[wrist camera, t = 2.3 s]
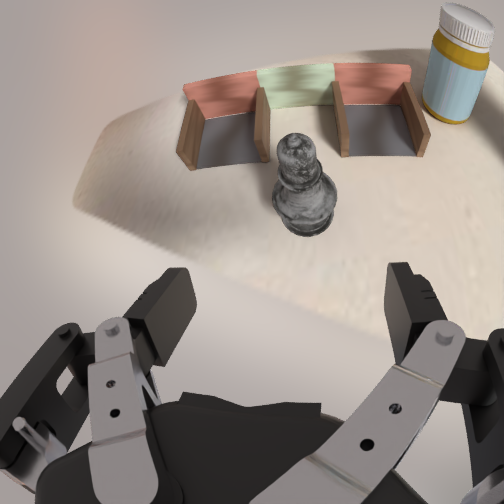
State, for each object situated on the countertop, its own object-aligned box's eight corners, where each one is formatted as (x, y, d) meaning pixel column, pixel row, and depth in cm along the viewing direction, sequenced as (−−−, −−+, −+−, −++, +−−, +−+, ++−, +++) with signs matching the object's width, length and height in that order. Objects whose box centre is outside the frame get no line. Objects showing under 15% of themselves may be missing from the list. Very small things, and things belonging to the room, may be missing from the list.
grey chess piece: (281, 243, 29) (251, 176, 18) (275, 191, 31) (247, 111, 20) (341, 235, 28) (346, 162, 17) (331, 183, 30) (327, 98, 19)
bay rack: (403, 99, 31) (409, 65, 26) (422, 157, 28) (435, 122, 23) (201, 114, 38) (184, 84, 32) (190, 170, 35) (168, 141, 29)
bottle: (462, 135, 28) (498, 42, 14) (414, 110, 31) (432, 11, 17) (471, 106, 29) (498, 21, 15) (427, 83, 31) (442, -5, 18)
